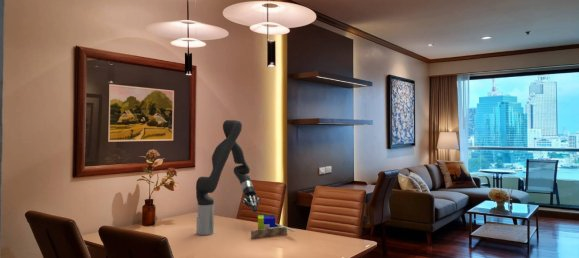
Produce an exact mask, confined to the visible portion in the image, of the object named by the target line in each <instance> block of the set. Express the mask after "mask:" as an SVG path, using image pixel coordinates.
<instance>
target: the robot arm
mask: <svg viewBox="0 0 579 258" xmlns="http://www.w3.org/2000/svg"><path fill="white" fill-rule="evenodd" d="M242 129H243V124H242V122H241V121H240V120H238V119H237V120H236V119H226V120H225V121H224V122H223V124H222V130H223V133H224V136H225V139H223V140H222V141H221V142H220V143H219V144H218V145H217V146H216V147H215V149H214V151H213V153H212V156H211V163H212V170H211V172H210V174H209V176H200V177H198V179H196V183H195V191H196V194H195V195H196V202H197V216H196V226H195V227H196V228H195V229H196V234H197V236H198V235H199V236H211V235H213V234H214V224H215V223H214V219H215V218H214V217H215V216H214V214H215V213H214V212H215V211H214V210H215V209H214V208H215V207H214V206H215V205H214V204H215V203H214V202H215V201H214V198H212V197H211V196H210V195H209V194H212V193H214V192H215V191H216V189H217V187H218V184H219V181H220V178H221V175H222V172H223V169H224V167H225V165H226V163H227V161H228V158H229V156H230V153H231V155H232V159H233V161H234V164H237V166H234V167H233V173H234V175H235V176H236V177H235V178H237V179H238V181H239V183H240V186H241V191H242V194H243V197H244V198H243V199H242V204H244V205H246V206H247V207H248V208H251V210H252V212H253V213H257V212H258V206H259V204H260V202H261V200H262V198H261V197H258V195H257V193H256V190H255V188H254V185H253V182H252V180H251V178H250V175H249V173H250V170H251V169H250V167H249V165H248V163H247V161H246V159H245V156H244V151H243V149H242V146H241V145H240V144H239V143H238V141H237V139H238V138H239V136H240V133H241V131H242Z"/></svg>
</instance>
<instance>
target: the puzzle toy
mask: <svg viewBox="0 0 579 258" xmlns="http://www.w3.org/2000/svg"><path fill="white" fill-rule="evenodd" d="M275 223H276V215H275V214H261V215H260V214H257V230H260V229H268V228H271V227H275Z"/></svg>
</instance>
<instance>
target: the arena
mask: <svg viewBox="0 0 579 258" xmlns="http://www.w3.org/2000/svg"><path fill="white" fill-rule="evenodd" d="M288 230H289V231H290V232H296V229H292V228H290V227H288V226H286V225H285V226H284V225H282V224H280V223H276V222H275V227H271V228H268V229H260V230H258V229H252V230H250V239H251V240H256V239H257V240H258V239H264V238H271V237H272V238H273V237H278V236H279V237H280V236H287V235H288Z"/></svg>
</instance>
